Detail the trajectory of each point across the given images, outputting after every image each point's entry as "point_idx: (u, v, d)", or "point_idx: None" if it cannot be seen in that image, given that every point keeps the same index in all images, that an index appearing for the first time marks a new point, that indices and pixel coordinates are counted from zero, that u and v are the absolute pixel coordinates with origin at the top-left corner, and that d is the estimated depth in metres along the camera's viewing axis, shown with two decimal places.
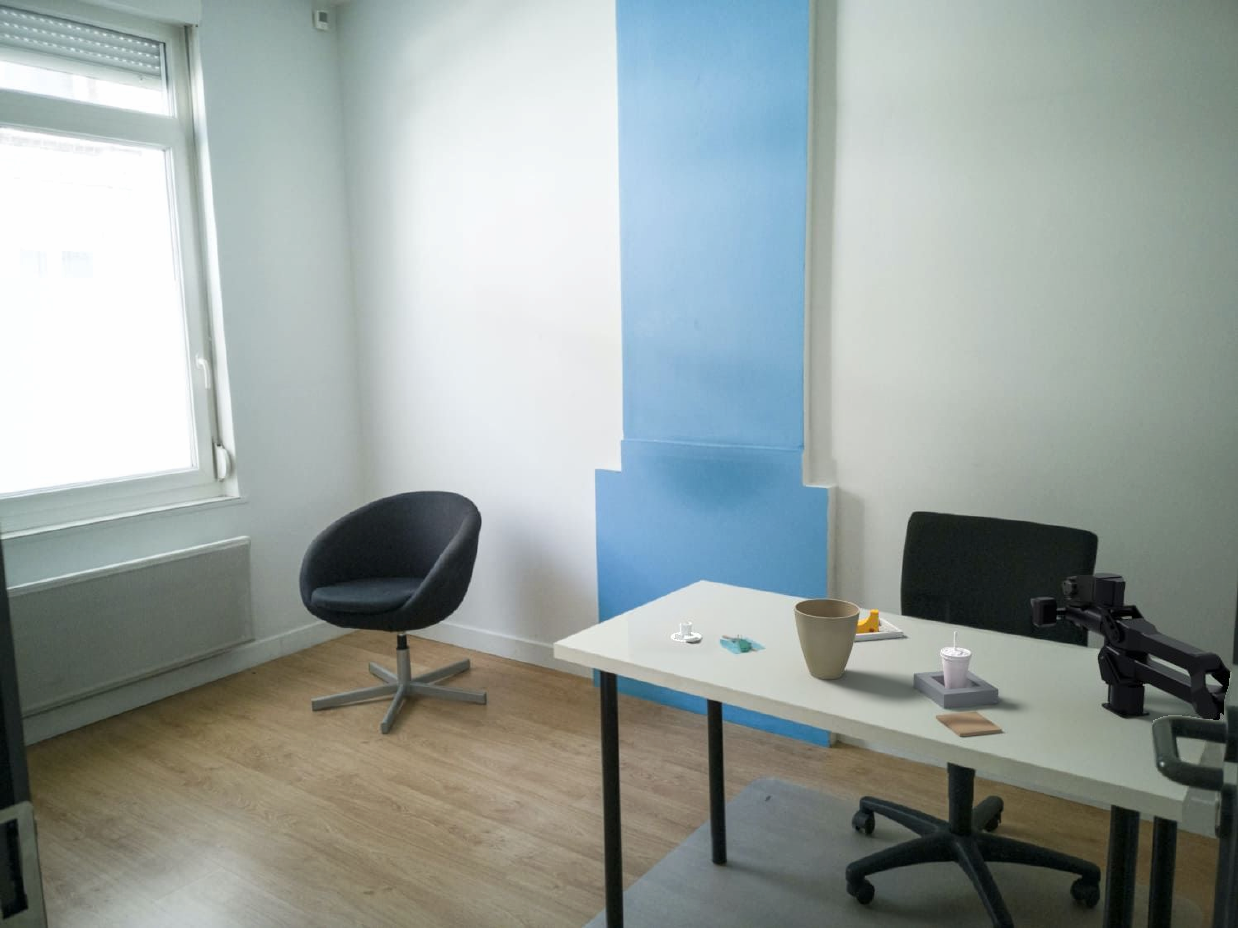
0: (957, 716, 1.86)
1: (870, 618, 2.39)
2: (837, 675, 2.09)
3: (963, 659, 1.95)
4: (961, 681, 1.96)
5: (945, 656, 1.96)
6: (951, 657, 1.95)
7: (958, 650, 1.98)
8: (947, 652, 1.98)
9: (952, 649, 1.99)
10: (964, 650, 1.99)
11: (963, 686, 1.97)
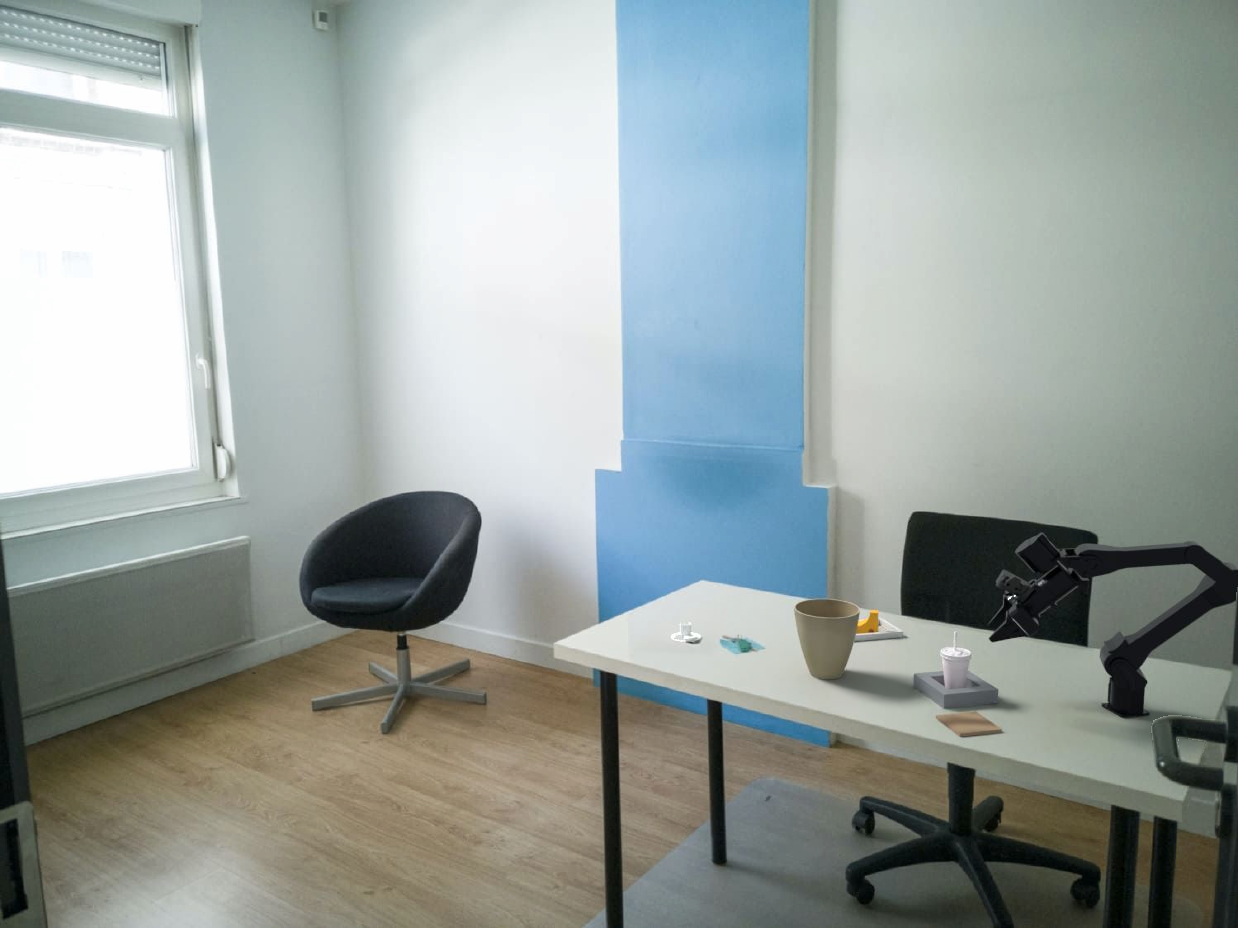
0: (957, 716, 1.86)
1: (870, 619, 2.38)
2: (837, 675, 2.09)
3: (963, 659, 1.95)
4: (961, 681, 1.96)
5: (945, 656, 1.96)
6: (951, 657, 1.95)
7: (958, 650, 1.98)
8: (947, 652, 1.98)
9: (952, 649, 1.99)
10: (964, 650, 1.99)
11: (963, 686, 1.97)
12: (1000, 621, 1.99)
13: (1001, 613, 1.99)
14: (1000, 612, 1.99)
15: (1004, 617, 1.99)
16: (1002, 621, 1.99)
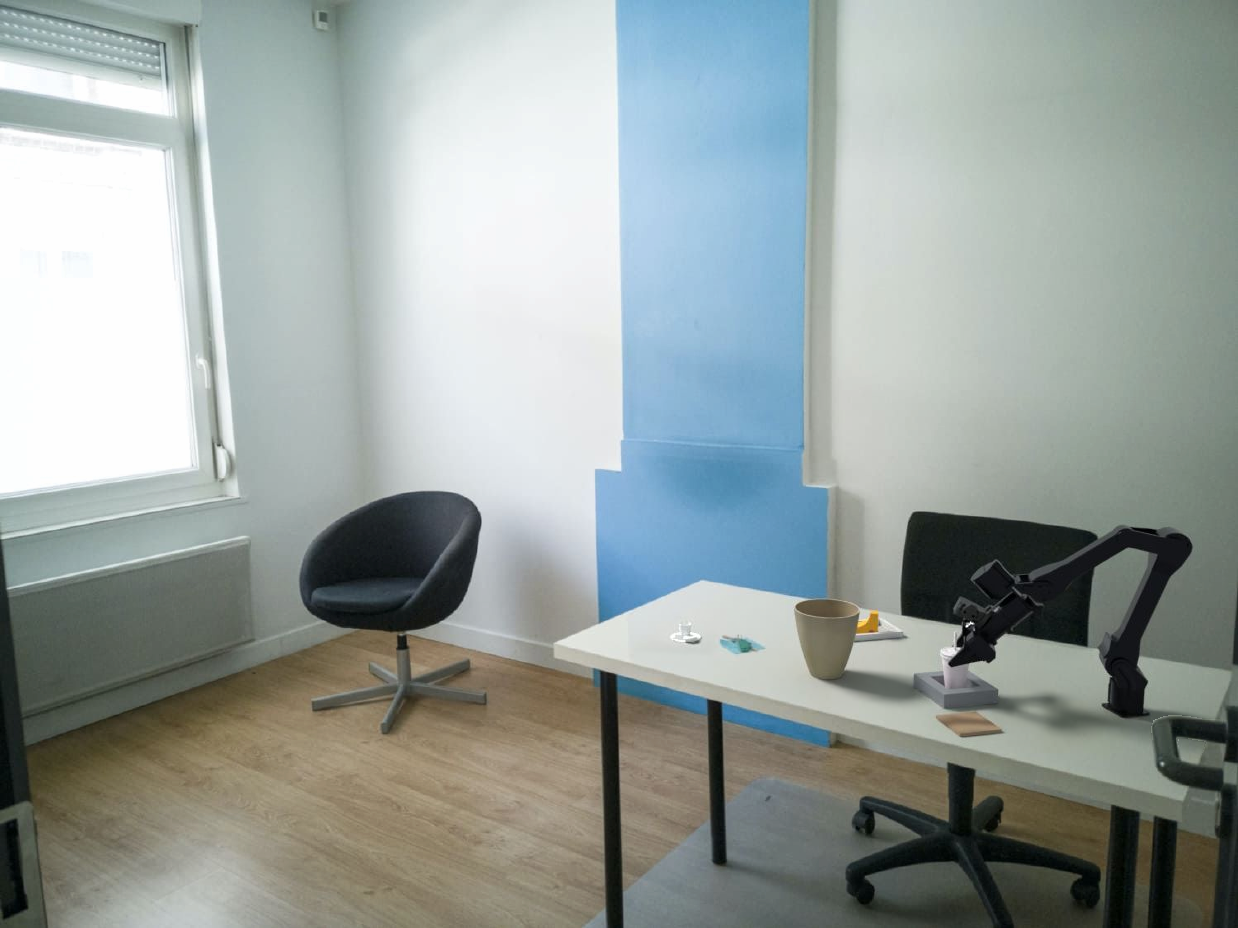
0: (957, 716, 1.86)
1: (870, 619, 2.38)
2: (837, 675, 2.09)
3: None
4: (961, 681, 1.96)
5: (945, 656, 1.96)
6: (951, 657, 1.95)
7: (958, 650, 1.98)
8: (947, 652, 1.98)
9: (952, 649, 1.99)
10: None
11: (963, 686, 1.97)
12: None
13: (960, 640, 2.00)
14: (959, 640, 2.01)
15: (964, 644, 2.00)
16: None
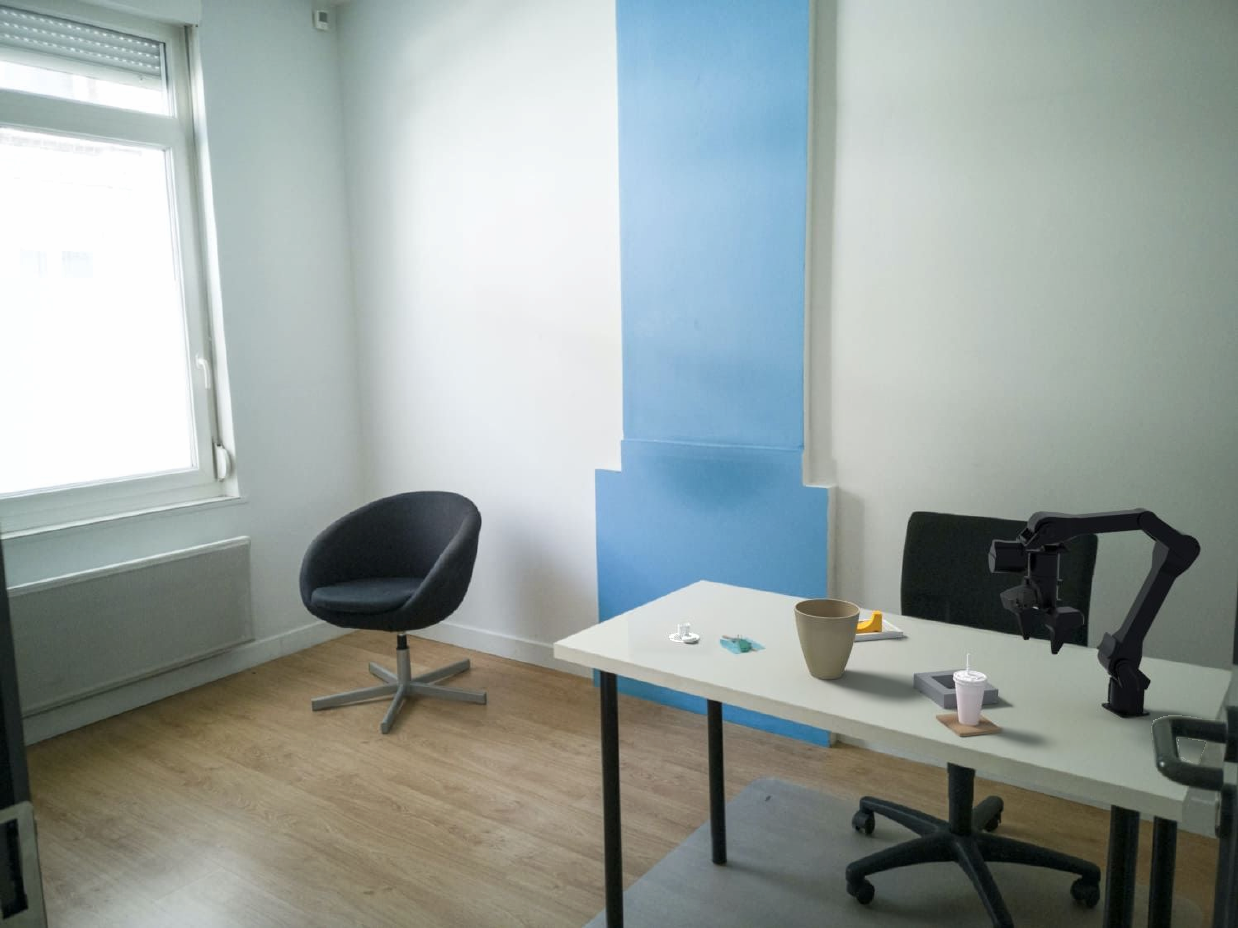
0: (957, 716, 1.86)
1: (874, 620, 2.37)
2: (837, 675, 2.09)
3: (984, 683, 1.80)
4: (980, 707, 1.81)
5: (965, 683, 1.80)
6: (973, 683, 1.79)
7: (971, 673, 1.82)
8: (964, 678, 1.81)
9: (964, 673, 1.83)
10: (974, 672, 1.84)
11: None
12: (1028, 627, 1.94)
13: (1023, 621, 1.94)
14: (1022, 621, 1.94)
15: (1027, 621, 1.94)
16: (1029, 625, 1.94)
